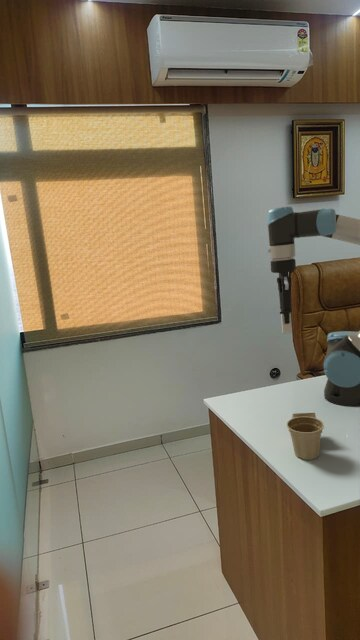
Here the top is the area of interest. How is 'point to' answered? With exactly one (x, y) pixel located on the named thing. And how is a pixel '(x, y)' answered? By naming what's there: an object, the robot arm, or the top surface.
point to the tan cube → (304, 415)
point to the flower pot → (305, 436)
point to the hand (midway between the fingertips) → (287, 332)
